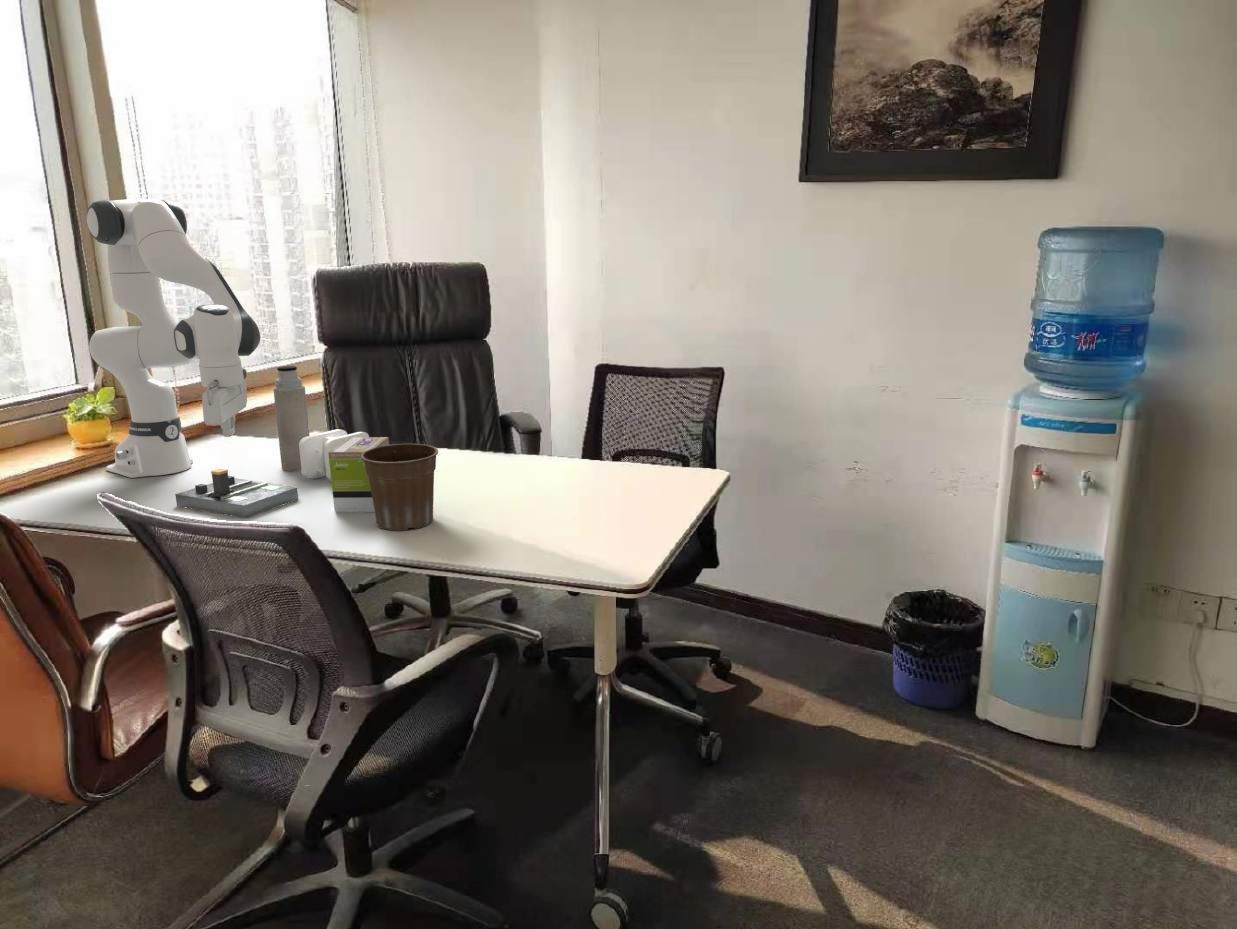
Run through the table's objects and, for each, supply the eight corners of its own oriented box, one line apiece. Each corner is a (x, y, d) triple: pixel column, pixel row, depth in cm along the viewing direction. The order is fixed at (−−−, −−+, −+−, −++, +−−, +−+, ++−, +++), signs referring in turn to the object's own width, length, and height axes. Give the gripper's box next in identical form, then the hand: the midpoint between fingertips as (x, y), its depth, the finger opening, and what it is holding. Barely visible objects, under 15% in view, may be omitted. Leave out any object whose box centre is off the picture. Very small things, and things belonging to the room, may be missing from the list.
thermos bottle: (300, 462, 241) (290, 363, 234) (318, 466, 237) (309, 365, 230) (275, 468, 234) (264, 367, 227) (294, 472, 230) (283, 369, 223)
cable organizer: (329, 486, 217) (325, 442, 214) (300, 480, 222) (296, 437, 219) (372, 473, 230) (369, 430, 227) (345, 468, 235) (341, 426, 232)
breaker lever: (210, 495, 198) (207, 471, 196) (225, 490, 201) (222, 467, 200) (219, 496, 197) (216, 473, 195) (233, 492, 200) (230, 469, 199)
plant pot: (425, 536, 179) (420, 462, 175) (353, 532, 182) (347, 459, 178) (452, 513, 195) (449, 444, 191) (386, 510, 198) (381, 442, 194)
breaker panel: (176, 506, 201) (174, 487, 200) (232, 489, 215) (230, 471, 214) (245, 518, 192) (243, 498, 191) (298, 499, 206) (296, 480, 205)
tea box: (354, 494, 210) (349, 435, 206) (395, 494, 210) (390, 436, 206) (332, 513, 196) (327, 450, 192) (376, 513, 195) (371, 450, 192)
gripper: (221, 385, 186) (229, 446, 190) (249, 369, 205) (255, 425, 209) (191, 385, 185) (199, 447, 189) (221, 369, 205) (228, 425, 209)
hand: (229, 435), depth 199 cm, fingers closed
